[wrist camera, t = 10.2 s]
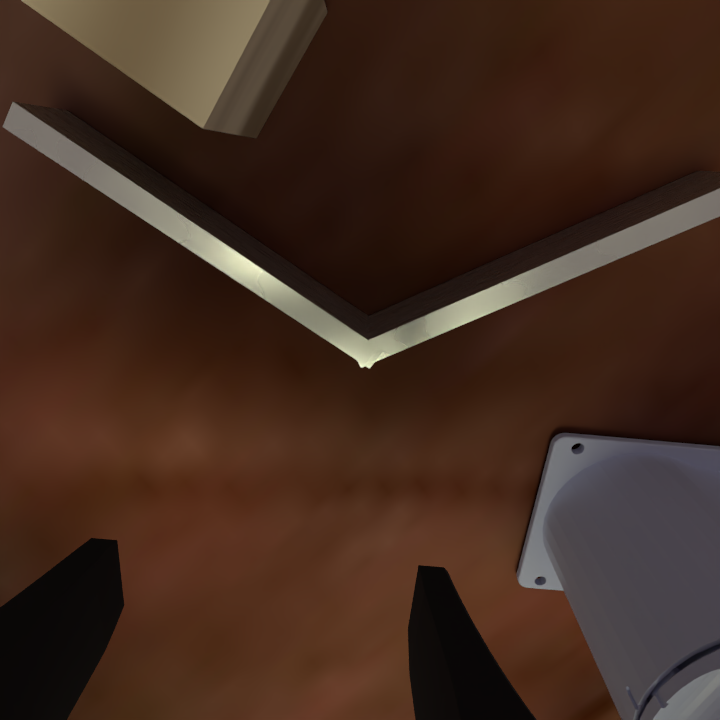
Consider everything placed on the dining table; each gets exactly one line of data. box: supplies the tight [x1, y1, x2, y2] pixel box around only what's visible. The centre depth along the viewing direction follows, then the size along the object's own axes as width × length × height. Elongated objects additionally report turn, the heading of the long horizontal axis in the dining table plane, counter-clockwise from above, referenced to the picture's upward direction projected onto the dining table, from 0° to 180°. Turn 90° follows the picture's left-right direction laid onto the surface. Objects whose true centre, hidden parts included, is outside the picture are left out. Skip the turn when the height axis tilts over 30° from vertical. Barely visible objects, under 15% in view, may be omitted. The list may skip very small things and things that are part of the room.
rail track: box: [3, 102, 720, 369], centre depth 16 cm, size 22×17×3 cm
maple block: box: [21, 0, 327, 138], centre depth 13 cm, size 4×4×6 cm
